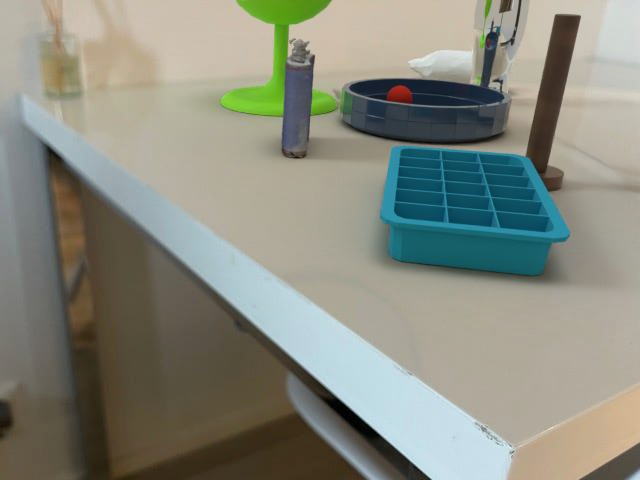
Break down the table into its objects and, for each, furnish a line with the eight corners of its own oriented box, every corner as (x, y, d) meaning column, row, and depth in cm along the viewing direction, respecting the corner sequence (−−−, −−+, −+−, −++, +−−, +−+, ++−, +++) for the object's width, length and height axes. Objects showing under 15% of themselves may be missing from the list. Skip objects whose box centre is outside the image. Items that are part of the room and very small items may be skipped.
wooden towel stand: (548, 174, 63) (584, 13, 56) (570, 191, 58) (613, 17, 52) (495, 173, 63) (526, 11, 56) (514, 190, 58) (549, 16, 52)
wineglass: (241, 118, 81) (243, -45, 73) (207, 95, 95) (205, -46, 87) (358, 112, 86) (371, -42, 78) (309, 91, 100) (317, -43, 92)
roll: (407, 81, 110) (411, 45, 108) (482, 86, 107) (488, 50, 105) (403, 87, 105) (408, 49, 103) (482, 92, 102) (489, 54, 100)
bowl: (476, 110, 90) (481, 79, 88) (530, 146, 72) (537, 109, 71) (332, 106, 90) (334, 76, 88) (351, 142, 72) (354, 105, 70)
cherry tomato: (407, 109, 86) (410, 84, 85) (412, 114, 83) (416, 88, 82) (383, 108, 86) (385, 83, 85) (387, 113, 83) (390, 87, 82)
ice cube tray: (520, 188, 59) (527, 155, 57) (563, 285, 41) (574, 240, 40) (388, 176, 61) (392, 144, 60) (374, 263, 43) (379, 220, 42)
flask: (306, 158, 66) (312, 44, 61) (277, 157, 66) (281, 43, 61) (310, 137, 74) (316, 35, 69) (284, 135, 74) (288, 34, 70)
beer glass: (465, 95, 100) (482, -14, 93) (513, 100, 97) (535, -12, 90) (456, 103, 94) (474, -13, 87) (507, 108, 91) (530, -11, 85)
